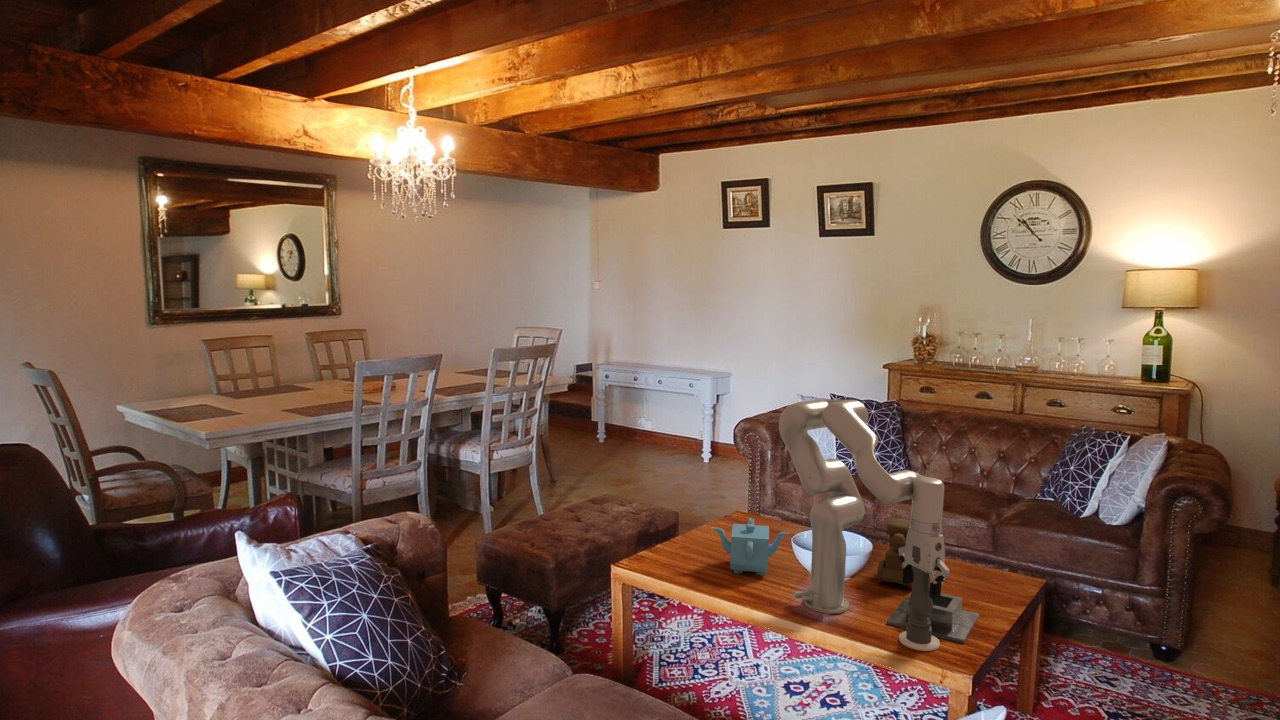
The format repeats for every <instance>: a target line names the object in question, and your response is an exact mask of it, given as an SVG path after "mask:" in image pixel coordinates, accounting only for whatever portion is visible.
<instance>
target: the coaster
mask: <svg viewBox="0 0 1280 720" xmlns="http://www.w3.org/2000/svg"><path fill="white" fill-rule="evenodd" d="M906 632H907V630H905V631H902V632H900V634H899V636H898V640H899V642H900V643H901V644H902V645H903V646H904V647H907V648H908V649H911V650H915V651H919V652H920V651H921V652H932V651H933V652H934V651H936V650H938V649H939V648H940V647H939V646H941V641H940V640H939V639H938V638H939V637H936V636H933V635H932V636H931V642H930V643H928V644H917V643H913V642H911V641H909V640H908V639H907V638H906Z"/></svg>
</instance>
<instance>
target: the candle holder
mask: <svg viewBox="0 0 1280 720" xmlns="http://www.w3.org/2000/svg"><path fill="white" fill-rule="evenodd" d="M912 557H913V558H914V559H913V561H914V562H915V563H916V564H919V561H921V558H920V548H918V547H915V546H913V549H912ZM912 570H913V571H914V573H915V575H914V585H913V588H911V592H910V595H909V596H908V597H909V600H908V605H909V608H910V610H911V614H912V615H911V616H910V617H909V618H908V622H909V623H908V624H907V629H906V631H907V632H906V638H907V639H908V640H909V641H911V642H913V643H917V644H928V643H930V642H931V636H932V627H931V626H930V625H931V621H930V620H929V618H928V616H929V613H930V612H931V611H932V609H933V602H932V598H930V597H929V592H930V583H931V578H930V575H929V574H928V573H926V572H924V571H922V570H920V569H918V568H916V567H914V566H913V567H912Z"/></svg>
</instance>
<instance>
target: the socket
mask: <svg viewBox="0 0 1280 720" xmlns="http://www.w3.org/2000/svg"><path fill="white" fill-rule="evenodd" d="M909 597H910V596H906V597H905V598H904V599H903V601H902V602H901V603H900V604H899V606H898V607H897V608H896V609H895V610H894V611H893V613H892V614H891V615H890V616H889V618H887V620H886V625H890V626H893V627H897V628H901V629H905V630H907V624H908V623H909V622H908V618H909V617H910V616H911V615H912V614H911V610H910V608H909V605H908V600H909ZM932 602H933V609H932V611H931V612H930V613H929V616H928V618H929V620H930V621H931V625H930V626H931V627H932V635H933V636H935V637H936V638H941V639H944V640H948V641H951V640H952V642H955V641H956V643H959V642H961V644H963V643H964V644H965V643H966V641H967V639H968V638H969V636H970V634H971V632H972V630H973V629H972V628H974V627H975V626H976V624H977V622H976V621H978V620H977V619H980V613H977V612H974V611H970V610H965V609H962V607H963V606H962V605H963V597H960V596H956V595H951V594H949V593H948V594H946V593H944V592H943V593H942V592H941V596H940V597H937V598H932ZM968 635H969V636H968ZM967 637H968V638H967Z"/></svg>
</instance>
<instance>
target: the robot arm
mask: <svg viewBox="0 0 1280 720" xmlns="http://www.w3.org/2000/svg"><path fill="white" fill-rule="evenodd" d="M778 419H779V420H778V421H779V422H778V431H779V434H780V438H781V439H782V442H783V443H784V445H785V447H786V449H787V451H788V453H789V456H790V458H791V460H792V463H793V466H794V469H795V470H796V473H797V474H798V477H799V480H800V483H801V485H802V488H803V489H804V491H805V492H806V493H807V494H808V495H810V496H820V495H824V494H829V497H825V498H821V499H819V500H817V501H816V502H815V503H814V504H813V505H812V507H811V509H810V511H809V512H810V513H809V521H810V526H811V527H810V528H811V565H810V566H811V567H810V568H811V569H810V586H806V589H805V590H803V591H798V590H797V591H794V592H793V598H794V599H800V601H802V602H803V601H804V605H805V606H806V607H807V608H809V609H810V610H813V611H815V612H819V613H823V614H835V615H836V614H841V613H844V612H847V611H848V610H849V608H850V603H849V601H848V600H847V599H846V598H845V585H846V584H845V581H846V564H847V563H846V560H847V559H846V558H847V544H846V539H845V537H844V534H843V530H845V529H847V528H850V527H853V526H855V525H857V524H859V523H861V522H862V520H863V519H864V517H865V506H864V501H863V500H862V496H861V494H860V492H859V489H858V487H857V485H856V483H855V480H854V477H853V475H852V474H851V471H850V469H849V467H848V466H847V465H846V464H845V463H844V462H843V461H841V460H839V459H837V458H827V459H825V458H824V457H823V454H822V452H821V450H820V447H819V445H818V444H817V441H816V440H814V438H813V437H812V436H811V435H810V434H809V433H808V432H809V431H811V430H816V429H823V428H827V429H828V430H829V431H830V433H832V435H833V436H834V437H835V438H836V439H837V441H838V442H840V443H841V444H842V445H843V447H844V448H845V449H846V450H847V451H848V452H849V454H851V456H852V457H853V462H854V467H855V470H856V472H857V476H858V478H859V480H860V481H861V483H863V485H864V486H865V487H866V488H867V489H868V490H869V492H870V493H871V494H872V495H874V497H875V498H876V499H878V500H879V501H881V502H882V503H884V504H887V505H889V504H890V505H891V504H897V503H900V502H904V501H908V500H911V511H910V521H911V522H910V527H909V530H908V533H907V538H906V544H905V547H900V548H898V551H899V555H900V560H901V562H902V568H904V569H903V579H902V583H904V584H906V583H912V582H913V578H914V571H913V570H912V566H914V567H916V568H918V569H920V570H922V571H924V572H926V573H928V574H929V575H930V592H929V597H930V598H937V597H940V596H941V593H942V583H945V581H946V580H947V579H948V578H949V576H950V573H951V570H950V569H949V567H948V566H947V565H946V564H945V561H946V559H945V558H946V550H945V549H946V548H945V540H944V539H945V538H944V535H943V534H942V533H943V530H944V529H943V528H942V525H943V523H942V522H943V511H944V497H945V484H944V482H943V481H942V480H941V479H938V478H935V477H929V476H928V477H927V476H924V475H921V474H920V473H918V472H915V471H912V470H909V469H907V470H906V469H903V470H901V471H895V472H891V473H889V472H887V470H886V469H884V467H883V466H882V465H881V464H880V462H879V461H878V460H877V457H876V455H875V452H874V451H875V449H876V447H877V445H878V443H879V437H878V435H877V434H876V433H875V432H874V431H873V430H871V428H870V427H869V426H868V425H867V422H868V420H869V411H868V409H867V407H866V406H865V405H864V403H862V402H860V401H859V400H856V399H836V398H833V399H832V398H830V399H829V398H822V399H821V398H820V399H812V400H811V399H810V400H805V401H804V400H803V401H798V402H794V403H791V404H790V405H788V406H786V407H785V408H784V409H783V411H782V412H781V414H780V417H779V418H778ZM913 546H915V547H918V548H920V558H921V561H919V564H916V563H915V562H914V561H913V559H914V558H913V557H912V549H913ZM935 574H936V575H935ZM904 584H903V585H904Z"/></svg>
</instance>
